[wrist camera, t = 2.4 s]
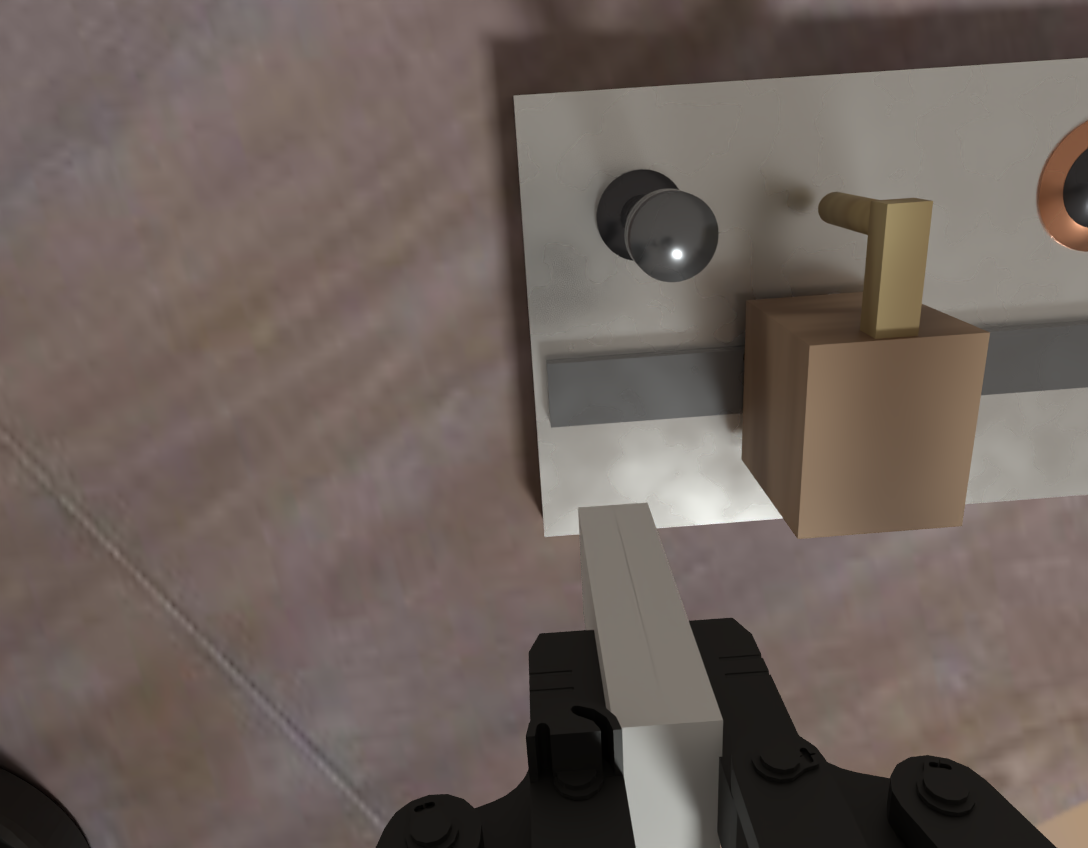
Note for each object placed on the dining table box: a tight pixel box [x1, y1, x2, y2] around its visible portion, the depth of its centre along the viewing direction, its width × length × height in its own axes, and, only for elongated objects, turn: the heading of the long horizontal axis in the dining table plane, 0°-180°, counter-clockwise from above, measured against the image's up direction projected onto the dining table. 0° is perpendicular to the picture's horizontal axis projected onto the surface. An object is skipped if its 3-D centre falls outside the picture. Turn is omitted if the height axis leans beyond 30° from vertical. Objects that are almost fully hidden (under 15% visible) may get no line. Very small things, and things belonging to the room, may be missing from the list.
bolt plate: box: [513, 58, 1088, 537], centre depth 26 cm, size 26×16×7 cm, turn 93°
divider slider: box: [741, 192, 990, 539], centre depth 25 cm, size 5×10×6 cm, turn 3°
